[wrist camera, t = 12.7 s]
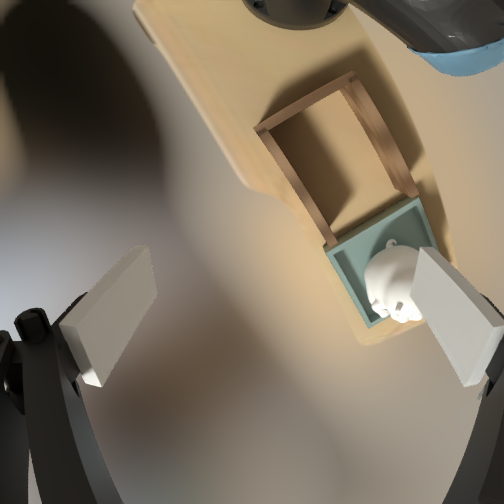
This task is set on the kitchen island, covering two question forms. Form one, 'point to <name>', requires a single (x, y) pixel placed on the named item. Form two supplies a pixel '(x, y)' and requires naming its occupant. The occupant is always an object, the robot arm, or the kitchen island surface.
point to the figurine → (393, 282)
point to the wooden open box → (370, 124)
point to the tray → (378, 248)
